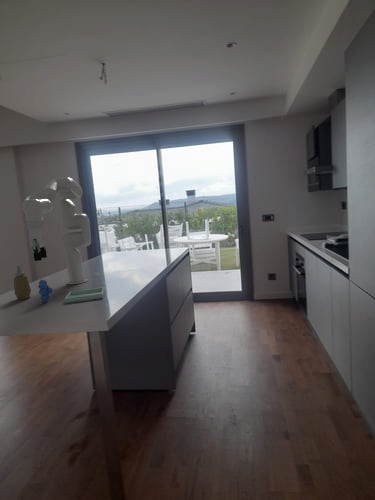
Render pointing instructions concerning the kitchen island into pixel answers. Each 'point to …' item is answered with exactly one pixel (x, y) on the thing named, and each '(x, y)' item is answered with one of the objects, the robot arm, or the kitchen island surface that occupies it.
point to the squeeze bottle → (21, 285)
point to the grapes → (44, 290)
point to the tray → (85, 295)
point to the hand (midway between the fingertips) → (40, 259)
